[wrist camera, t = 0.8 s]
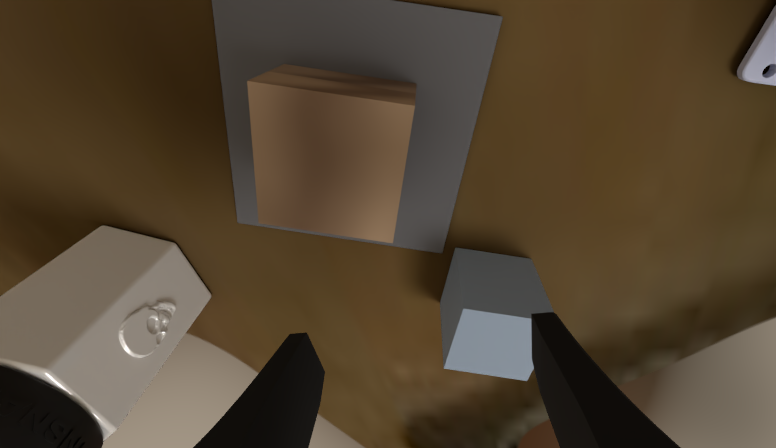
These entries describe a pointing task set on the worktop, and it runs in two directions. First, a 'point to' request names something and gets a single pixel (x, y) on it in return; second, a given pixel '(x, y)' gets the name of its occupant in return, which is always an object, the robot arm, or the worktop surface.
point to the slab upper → (329, 154)
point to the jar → (91, 337)
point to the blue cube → (490, 313)
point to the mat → (374, 59)
